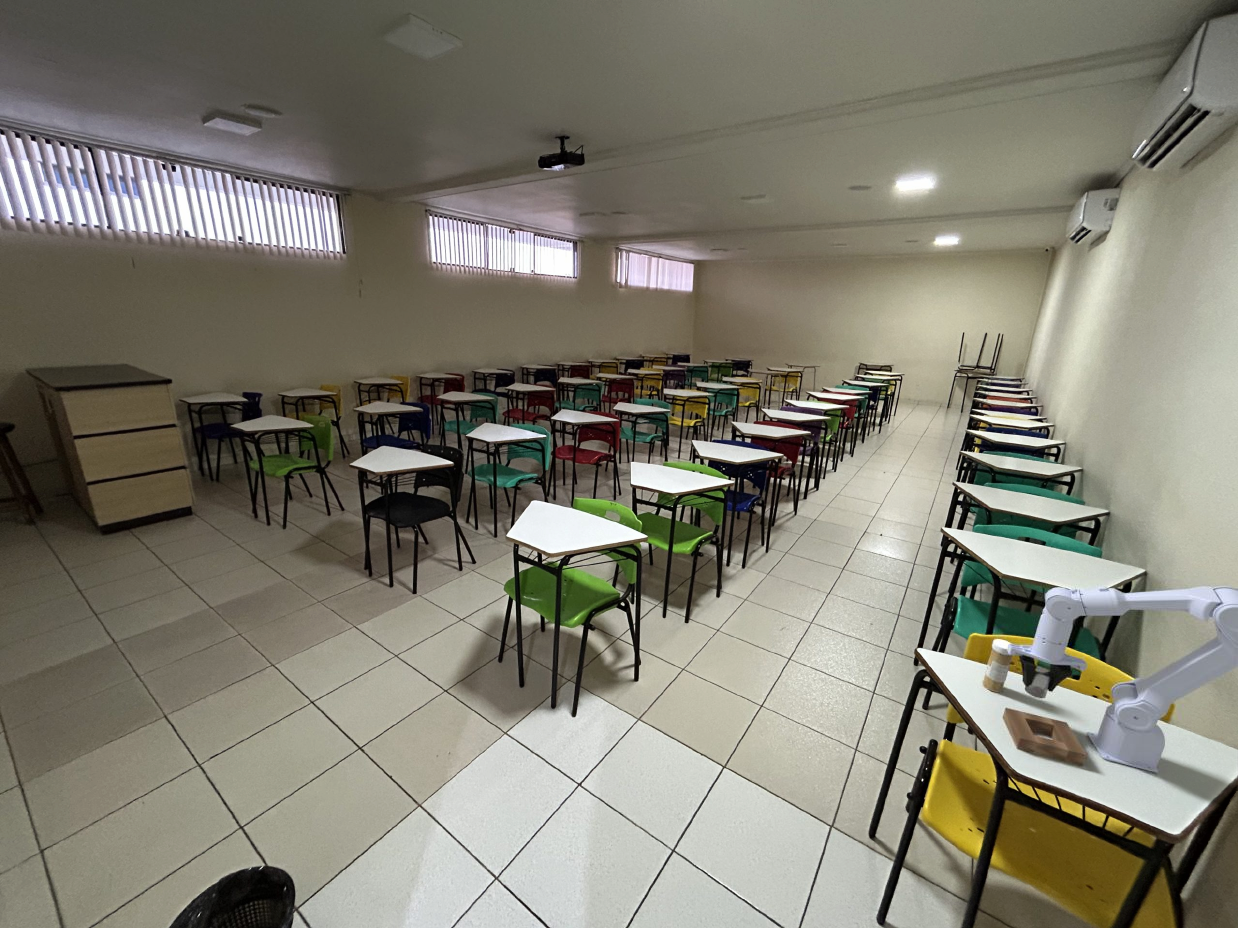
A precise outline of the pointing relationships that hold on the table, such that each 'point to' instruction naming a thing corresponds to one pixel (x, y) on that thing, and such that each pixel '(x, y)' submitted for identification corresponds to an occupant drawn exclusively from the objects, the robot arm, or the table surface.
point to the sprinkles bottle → (997, 666)
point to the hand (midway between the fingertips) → (1037, 686)
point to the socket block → (1058, 748)
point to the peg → (1039, 683)
